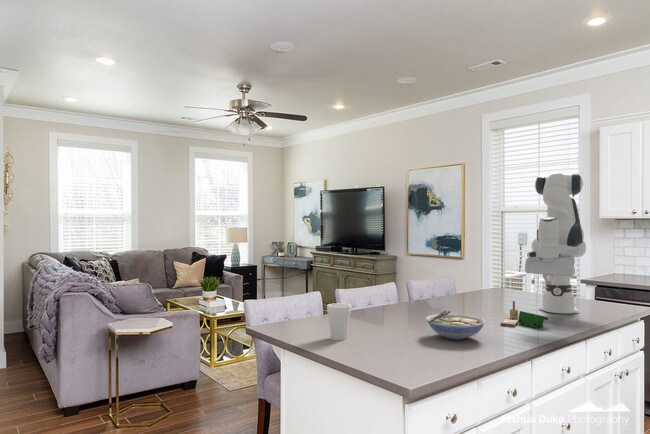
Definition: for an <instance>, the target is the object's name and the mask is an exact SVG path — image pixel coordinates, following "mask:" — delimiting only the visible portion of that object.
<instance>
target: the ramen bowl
mask: <svg viewBox="0 0 650 434" xmlns="http://www.w3.org/2000/svg"><path fill="white" fill-rule="evenodd" d="M425 320H426V322H427V324H428V325H429V327H430V328H431V329H432V330H433V331H434V332H435V333H436V334H437V335H440V336H442V337H445V338H446V339H448V340H452V341H453V340H455V341H463V340H465V339H467V338H470V337H473V336H475V335H477V334H478V333H479V332H480V331H481V330H482V329H483V327H484V325H485V322H486V320H485V319H483V318H482V317H478V316H474V315H467V314H458V313H457V314H456V313H451V310H448V311H447V310H443V311H442V312H441V313H438V314H431V315H428V316H426V318H425Z"/></svg>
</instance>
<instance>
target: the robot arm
mask: <svg viewBox="0 0 650 434" xmlns="http://www.w3.org/2000/svg"><path fill="white" fill-rule="evenodd" d="M583 181H584V180H583V178H582V176H581V175H580V174H579V173H578V174H577V173H562V172H559V171H558V172H557V171H556V172H552V173H550V174H542V175H538V176H537V177H536V179H535V183H534V189H535V190H536V193H537V194H538V195H541V196H542V201H543V203H544V204H545V205H546V206H547V210H546V211H547V213H546V214H547V215H546V217H541V218H540V219H539V221H538V229H537V230H536V238H534V239H533V240H532V242H531V251H529V252H527V253H526V256H527V258H526V259H525V264H524V272H525V273H526V274H535V275H542V278H543V280H544V281H545V282H544V284H545V292H544V293H542V305H541V306H540V307H538V311H539V310H540V311H544V312H548V313H554V314H580V310H578V309H577V308H576V302H575V296H574V295H573V293H572V284H571V277H574V276H575V274H576V270H575V263H576V258H582V257H583V256H584V254H586V250H587V245H586V243H585V234H584V229H583V228H582V225H581V221H580V220H581V219H580V215H579V209H578V206H577V203H576V200H575V199H574V197H575V196H577V195H579V193H580V192H581V191H582V189H583V186H584V182H583ZM571 195H572V197H571Z"/></svg>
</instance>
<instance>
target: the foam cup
mask: <svg viewBox="0 0 650 434" xmlns="http://www.w3.org/2000/svg"><path fill="white" fill-rule="evenodd" d="M351 311H352V305H351V304H349V303H344V302H343V303H338V302H337V303H329V304H327V305H326V312H327V317H328V324H329V331H330V339H331V340H333V341H346V340H347V339H348V336H349V335H348V333H349V325H350V317H351Z"/></svg>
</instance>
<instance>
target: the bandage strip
mask: <svg viewBox="0 0 650 434" xmlns="http://www.w3.org/2000/svg"><path fill="white" fill-rule="evenodd" d="M518 324H520V323H519V322H518V319H511V318H510V317H506V318H504V319H503V320H502V321H501V322H500V326H501V327H509V328H510V327H511V328H516V327H517V326H518Z"/></svg>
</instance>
